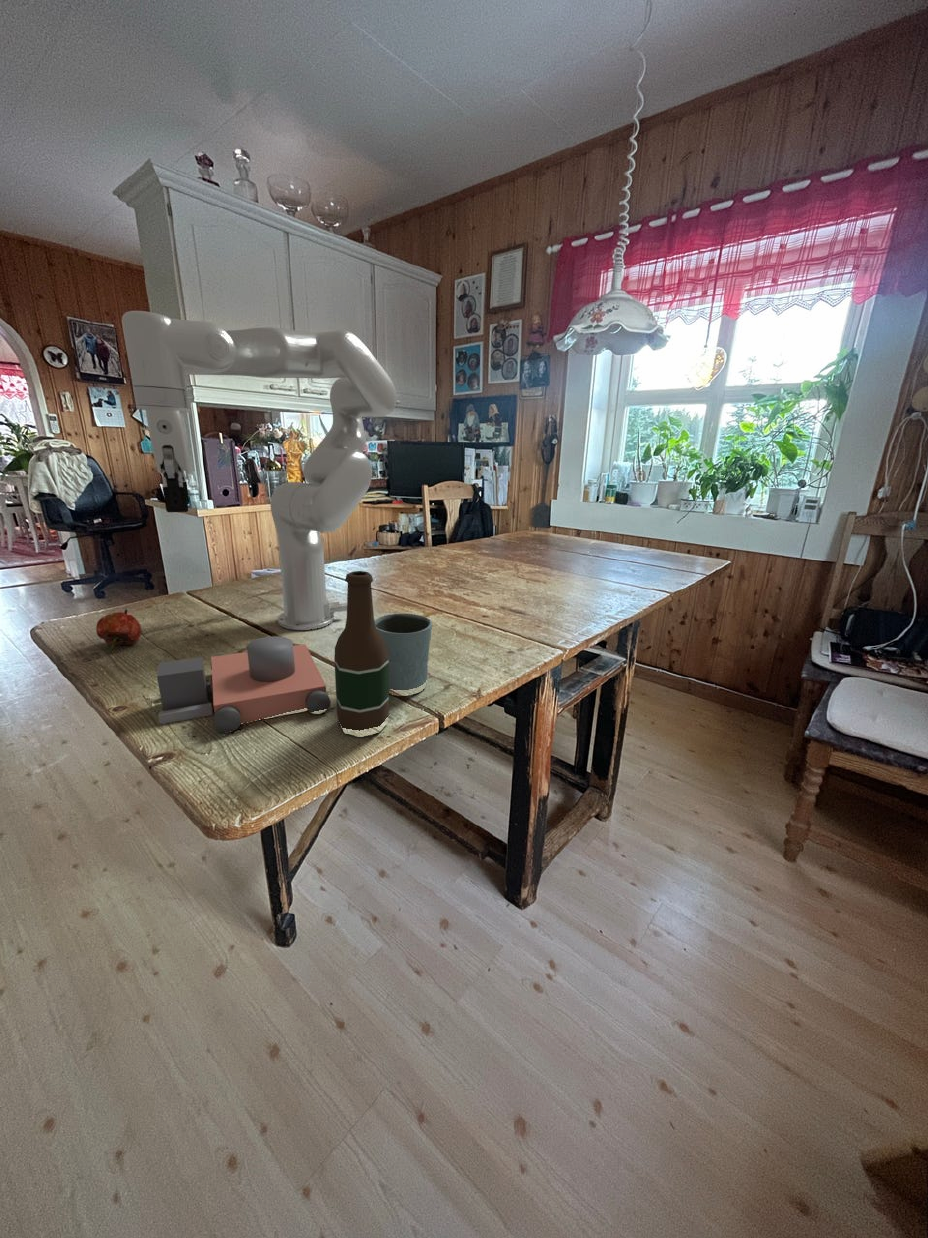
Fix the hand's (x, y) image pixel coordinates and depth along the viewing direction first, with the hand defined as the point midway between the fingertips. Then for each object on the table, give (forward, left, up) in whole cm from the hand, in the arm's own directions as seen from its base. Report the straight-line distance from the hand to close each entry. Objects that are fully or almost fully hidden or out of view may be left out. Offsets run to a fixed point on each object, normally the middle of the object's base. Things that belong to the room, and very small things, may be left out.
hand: (178, 507), depth 85 cm
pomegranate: (+14, -10, -29) cm, 33 cm away
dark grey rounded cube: (+2, +20, -28) cm, 35 cm away
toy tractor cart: (-6, +20, -28) cm, 35 cm away
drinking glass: (-32, +26, -28) cm, 50 cm away
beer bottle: (-22, +36, -28) cm, 51 cm away
